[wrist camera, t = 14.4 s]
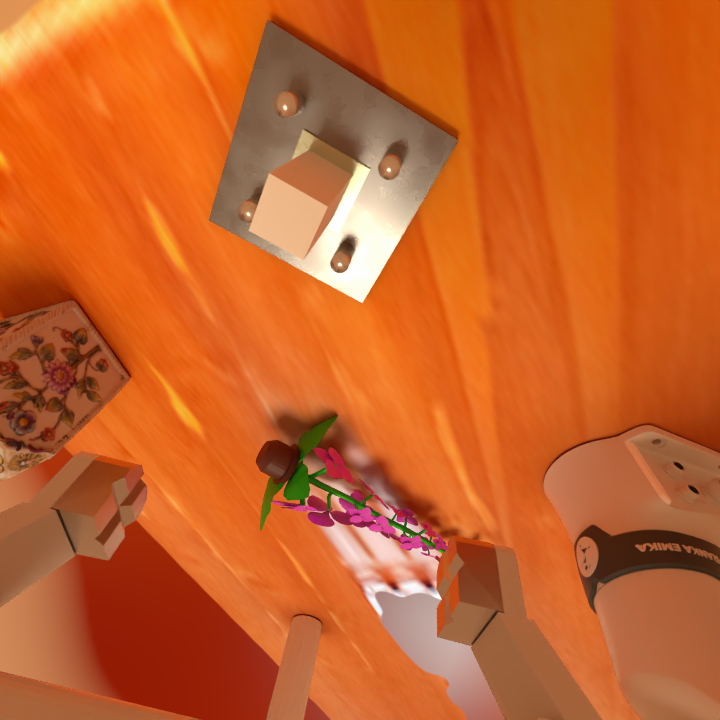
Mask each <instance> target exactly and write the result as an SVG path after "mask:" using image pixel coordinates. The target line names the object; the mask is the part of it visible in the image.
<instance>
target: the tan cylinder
mask: <svg viewBox="0 0 720 720" xmlns="http://www.w3.org/2000/svg"><path fill="white" fill-rule="evenodd" d="M321 630H322V625H321V623H320V621H319V620H317V619H315V618H313V617H310V616H305V615H299V616H296V617H294V618H293V620H292V622H291V626H290V630H289V634H288V637H287V641H286V645H285V649H284V653H283V657H282V661H281V665H280V669H279V672H278V676H277V680H276V684H275V688H274V692H273V696H272V699H271V703H270V707H269V711H268V715H267V719H266V720H304V715H305V709H306V705H307V700H308V695H309V690H310V685H311V680H312V675H313V670H314V665H315V660H316V655H317V650H318V645H319V640H320V635H321Z"/></svg>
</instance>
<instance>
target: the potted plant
mask: <svg viewBox="0 0 720 720" xmlns="http://www.w3.org/2000/svg"><path fill="white" fill-rule="evenodd" d="M336 418H337V416H335V417H333V418H331V419H328V420H326V421H324V422H322V423H320V424H318V425H316V426H315V427H313V428H312V429H311V430H309V431H308V432H306V433H304V434H303V435H302V437H301V438H300V440H299V443H298V446H297V445H296V444H293V445H291V446H288V445H286V444H284V443H282V442H281V441H279V440H273V441H267V442H266V443H265V444H264V445H263V447H262V448H261V450H260V452H259V454H258V456H257V459H256V464H257V465H258V467H259V469H260V471H261V472H263V473H265V474H267V475H269V476H270V478H269V480H268V484H267V488H266V491H265V494H264V498H263V504H262V511H261V523H260V531H261V530H262V529H263V526H264V523H265V520H266V517H267V515H268V514H269V512H270V510H271V502H273V503H275V504H278V505H283V506H292V507H281V508H290V509H294V510H298V511H306V510H304V508H305V509H307V510H310V511H325V512H323V513H318V512H310V513H308V518H309V520H310V521H312V522H313V523H315V524H318V525H321V526H326V527H330V526H333V525H334V522H333V520H332V519H331V518H330V516H329V513H330V514H331V516H332V518H333V519H334V520H336V521H337V522H339V523H341V524H345V525H352V524H353V525H354V526H356V527H361V528H362V527H366V526H367V527H368V528H369V530H371V531H374V532H380V533H381V534H382V535H384V536H385V537H387V538H390V537H392V538H393V539H395V540H398V541H399V542H400V543H402V544H403V545H401V546H400V548H402V549H406V550H411V549H412V548H420V547H422V549H423V551H427V550H428V555H427V554H426V553H423V555H426V556H431V557H435V556H432V555H430V552H429V549H436V550H438V551H440V552H442V553H443V552H445V551H446V550H448V547H447V546H445V545H446V543H445V542H444V541H443V539H442V537H440V536H439V535H437V534H434V533H436V532H434V531H432V530H431V526H430V525H429V524H428V523H427V522H426V521H425V523H426V525H425V524H424V523H420V524H421V525H422V526H423V528H424V530H422V531H421V532H419V533H416V532H414V531H412V530H411V529H409V528H407V527H406V525H407V522H408V523H410V524H413V525H415V526H418V522H417V520H416V519H415V518H413V517H412V516H413V512H412V511H411V510H409V509H405V510H403V511H402V510H397V509H396V508H395V507H393V506H391V505H389V504H387V505H388V506H390V507H391V508H392V509H393V511H394V512H395V515H394V517H393V518H392V520H391V519H389V518H387V517H385V516H383V515H381V514H380V513H378V512H376V511H375V510H374V509H372V508H371V507H370V506H366V501H367V500H368V499H370V498H371V497H373V496H374V498H376V499H377V500H379V501H380V502H381V503H382V504H383V505H384V506H385V507H386V508H387V509H388V510H389V508H388V507H387V506H386V505H385V504H384V502H383V501H382V500H381V499H380V498H379V497H378V496H377V495H374V494H373V493H374V492H373V491H372V489H371V488H370V487H369V486H367V485H366V484H365V483H364V482H363V481H362V480H361V479H359V480H360V481H361V482H362V483H363V484H364V485H365V486H366V487H367V488H368V489H369V491H370V492H371V495H370V496H368V497H367V498H366V499H365V498H364V497H363V495H362V494H361V493H360V492H359V491H355V492H353V493H352V494H351V495H350V496H349V495H347V494H345V493H343V492H341V491H339V490H337V489H334V488H332V487H330V486H328V485H326V484H324V483H323V482H321V481H319V480H317V479H315V477H317V476H319V475H321V474H323V473H325V472H327V474H328V475H329V476H331V477H333V478H335V479H338V478H342V477H343V478H344V479H345V480H346V481H348V482H350V483H352V484H353V483H354V481H353V478H352V476H351V474H350V472H349V471H348V469H347V468H346V467H345V466H343V465H344V461H343V459H342V457H341V456H340V455H339V454H338V452H337V451H335V450H334V449H333V448H332V447H330V448H329V449H328V452H329V453H328V452H326V451H325V450H324V449H321V448H317V447H316V446H317V445H318V443H319V442H320V441H321V439H322V437H323V436H324V434H325V433H326V431H327V430H328V429H329V427H330V426H331V425H332V424H333V422H334V421H335V420H336ZM314 447H315V448H314ZM312 449H313V450H314V452H315V453H316V454H317V455H318V456H319V457H320V458H321V459H322V461H323V462H324V463H325V464H326V468H324V469H322V470H320V471H318V472H316V473H314V474H311V475H308V468H307V467H306V465H304V464H303V459H304V458H305V456H306V455H307V454H308V453H309V452H310V451H311V450H312ZM329 454H330V455H329ZM331 457H332V458H331ZM332 459H333V460H332ZM333 461H334V463H333ZM287 481H288V483H287V485H286V487H285V490H284V497H285V498H286V499H287V500H300V504H295V503H287V502H280V501H272V499H273V497H274V495H275V494H276V493H277V492H278V491H279V490H280V489H281V488H282V487H283V485H284V484H285V483H286V482H287ZM309 483H310V484H312V485H314V486H316V487H318V488H321V489H323V490H325V491H327V492H329V494H328V496H327V503H325V502H324V501H323V500H321V499H320V498H318V497H316V496H313V495H312V496H310V497H309V492H310V487H309ZM332 494H334V495H336V496H338V497H341V498H339V503H340V504H341V506H342V507H343V508H344V509H345V510H347V511H346V513H344V512H341V511H332V510H333V509H332V507H331V502H330V498H331V495H332ZM307 497H309V498H308V501H307V503H308V505H309V506H305V498H307ZM300 505H301V506H300ZM331 511H332V512H331ZM396 515H398V516H397V521H398V522H405V524H404V526H403V525H401V524H399V523H397V522H395V521H393V520H394V518H395V517H396ZM373 520H376V523H377V524H378V525H377V524H376V523H375V522H374V521H373ZM388 524H390V526H384V525H388ZM391 526H394V527H396V528H398V529H400V530H402V531H403V534H402V535H401V537H397V536H396V535H394V534H392V533H396V531H395V529H394V528H393V527H391ZM427 527H428V528H427ZM382 530H383V531H382ZM405 532H406V533H408V534H410V535H409V537H408V536H407V535H406V534H405ZM388 533H389V535H388ZM423 533H425V534H428V536H430V541H429V540H428V539H427V538H426V537H423V536H421V534H423ZM411 536H412V538H411ZM432 536H434V537H436V536H437V537H439V539H434V540H433V542H434V543H432V542H431V539H432ZM428 548H429V549H428ZM421 553H422V552H421ZM435 559H436V560H438V561H440V558H439V557H438V556H436V557H435Z"/></svg>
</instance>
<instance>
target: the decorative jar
mask: <svg viewBox="0 0 720 720" xmlns="http://www.w3.org/2000/svg"><path fill="white" fill-rule="evenodd" d="M129 380H130V376H129V375H128V374H127V372H126V371H125V369H124V368H123V367H122V365H121V364H120V362H119V361H118V359H117V358H116V356H115V355H114V354H113V352H112V351H111V350H110V348H109V347H108V345H107V344H106V342H105V341H104V340H103V338H102V337H101V336H100V334H99V333H98V332H97V330H96V329H95V328H94V326H93V325H92V324H91V322H90V321H89V319H88V318H87V316H86V315H85V314H84V312H83V311H82V309H81V308H80V307H79V305H78V304H77V303H76V302H75V301H73V300H69V301H66V302H62V303H58V304H55V305H52V306H48V307H44V308H41V309H37V310H33V311H29V312H26V313H23V314H19V315H16V316H12V317H9V318H4V319H2V320H0V480H4V479H8V478H10V477H12V476H14V475H17V474H19V473H20V472H22V471H24V470H26V469H28V468H31V467H34V466H36V465H37V464H39V463H41V462H43V461H45V460H46V459H51V458H53V457H54V455H55V454H56V453H57V452H59V451H60V449H61V448H62V447H63V446H65V445H66V443H67V442H69V441H70V440H71V438H73V437H74V436H75V435H76V434H77V433H78V432H79V431H80V430H81V429H82V428H83V427H84V426H85V425H86V424H87V423H88V422H89V421H90V420H91V419H93V418H94V417H95V416H96V414H98V412H100V411H101V409H103V407H105V405H106V404H108V402H110V400H112V398H114V396H115V395H116V394H117V393H118V392H119V391H120V390H121V389H122V388H123V387H124V386H125V385H126V384H127V383H128V382H129Z"/></svg>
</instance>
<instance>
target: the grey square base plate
mask: <svg viewBox="0 0 720 720" xmlns="http://www.w3.org/2000/svg"><path fill="white" fill-rule="evenodd" d="M457 142H458V139H457V138H455V137H454V136H452V135H450V134H449V133H447V132H446V131H444V130H443V129H441V128H439V127H438V126H436V125H435V124H433V123H431V122H430V121H428V120H427V119H425V118H424V117H422V116H420V115H419V114H417V113H416V112H414V111H412V110H411V109H409V108H408V107H406V106H405V105H403V104H401V103H400V102H398V101H397V100H395V99H393V98H392V97H390V96H389V95H387V94H386V93H384V92H382V91H381V90H379V89H378V88H376V87H375V86H373V85H371V84H370V83H368V82H367V81H365V80H363V79H362V78H360V77H359V76H357V75H356V74H354V73H352V72H351V71H349V70H348V69H346V68H344V67H343V66H341V65H340V64H338V63H337V62H335V61H333V60H332V59H330V58H329V57H327V56H325V55H324V54H322V53H321V52H319V51H318V50H316V49H314V48H313V47H311V46H310V45H308V44H306V43H305V42H303V41H302V40H300V39H299V38H297V37H295V36H294V35H292V34H291V33H289V32H287V31H286V30H284V29H283V28H281V27H280V26H278V25H276V24H275V23H273V22H272V21H269V20H267V23H266V26H265V30H264V33H263V36H262V40H261V43H260V47H259V50H258V54H257V57H256V60H255V64H254V67H253V71H252V74H251V78H250V81H249V84H248V88H247V91H246V95H245V98H244V102H243V105H242V109H241V112H240V115H239V119H238V122H237V126H236V129H235V133H234V136H233V139H232V143H231V146H230V150H229V153H228V157H227V160H226V163H225V167H224V170H223V174H222V177H221V181H220V184H219V187H218V191H217V194H216V198H215V201H214V205H213V208H212V212H211V215H210V218H209V221H211V222H213V223H215V224H217V225H219V226H220V227H222V228H224V229H226V230H228V231H230V232H232V233H233V234H235V235H237V236H239V237H241V238H243V239H245V240H246V241H248V242H250V243H252V244H254V245H256V246H258V247H259V248H261V249H263V250H265V251H267V252H269V253H271V254H272V255H274V256H276V257H278V258H280V259H282V260H284V261H285V262H287V263H289V264H291V265H293V266H295V267H297V268H298V269H300V270H302V271H304V272H306V273H308V274H310V275H311V276H313V277H315V278H317V279H319V280H321V281H323V282H324V283H326V284H328V285H330V286H332V287H334V288H336V289H337V290H339V291H341V292H343V293H345V294H347V295H349V296H350V297H352V298H354V299H356V300H358V301H360V302H362V303H363V301H364V299H365V298H366V296H367V294H368V293H369V291H370V289H371V287H372V286H373V284H374V282H375V281H376V279H377V277H378V276H379V274H380V272H381V271H382V269H383V267H384V266H385V264H386V262H387V260H388V259H389V257H390V255H391V254H392V252H393V250H394V249H395V247H396V245H397V244H398V242H399V240H400V239H401V237H402V235H403V233H404V232H405V230H406V228H407V227H408V225H409V223H410V222H411V220H412V218H413V217H414V215H415V213H416V212H417V210H418V208H419V206H420V205H421V203H422V201H423V200H424V198H425V196H426V195H427V193H428V191H429V190H430V188H431V186H432V185H433V183H434V181H435V179H436V178H437V176H438V174H439V173H440V171H441V169H442V168H443V166H444V164H445V163H446V161H447V159H448V157H449V156H450V154H451V152H452V151H453V149H454V147H455V146H456V144H457ZM308 150H310V151H312V152H313V153H315V154H317V155H319V156H320V157H322V158H324V159H325V160H327V161H329V162H330V163H332V164H334V165H336V166H337V167H339V168H341V169H342V170H344V171H346V172H347V173H349V174H351V175H353V177H352V179H351V181H350V183H349V185H348V187H347V189H346V191H345V193H344V196H343V198H342V200H341V202H340V204H339V206H338V208H337V210H336V213H335V215H334V217H333V219H332V220H331V222H330V223H329V225H328V226H327V227H326V229H325V230H324V232H323V233H322V235H321V236H320V237H319V239H318V240H317V242H316V243H315V244H314V246H313V247H312V249H311V250H310V252H309V253H308V254H307V256H306V257H305V259H304V260H302V259H300V258H298V257H296V256H294V255H293V254H291V253H289V252H287V251H285V250H283V249H282V248H280V247H278V246H276V245H274V244H272V243H270V242H269V241H267V240H265V239H263V238H261V237H259V236H258V235H256V234H254V233H252V232H250V231H249V228H250V225H251V223H252V220H253V217H254V214H255V211H256V209H257V206H258V203H259V200H260V197H261V194H262V192H263V189H264V186H265V183H266V180H267V177H268V175H269V173H270V172H272V171H274V170H275V169H277V168H279V167H280V166H282V165H284V164H286V163H287V162H289V161H291V160H292V159H294V158H296V157H297V156H299V155H301V154H303V153H304V152H306V151H308Z"/></svg>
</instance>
